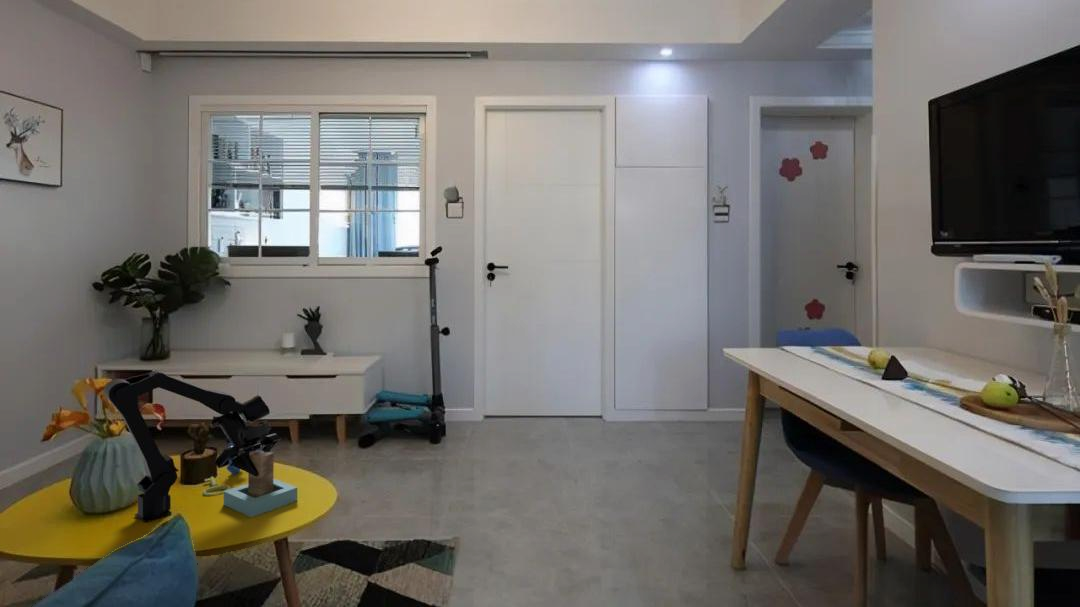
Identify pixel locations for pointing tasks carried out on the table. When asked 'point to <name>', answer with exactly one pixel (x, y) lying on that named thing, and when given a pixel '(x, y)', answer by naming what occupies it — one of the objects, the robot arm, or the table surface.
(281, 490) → the box
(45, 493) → the table surface
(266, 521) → the table surface
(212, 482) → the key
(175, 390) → the robot arm
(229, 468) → the grapes
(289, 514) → the table surface
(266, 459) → the walnut block
